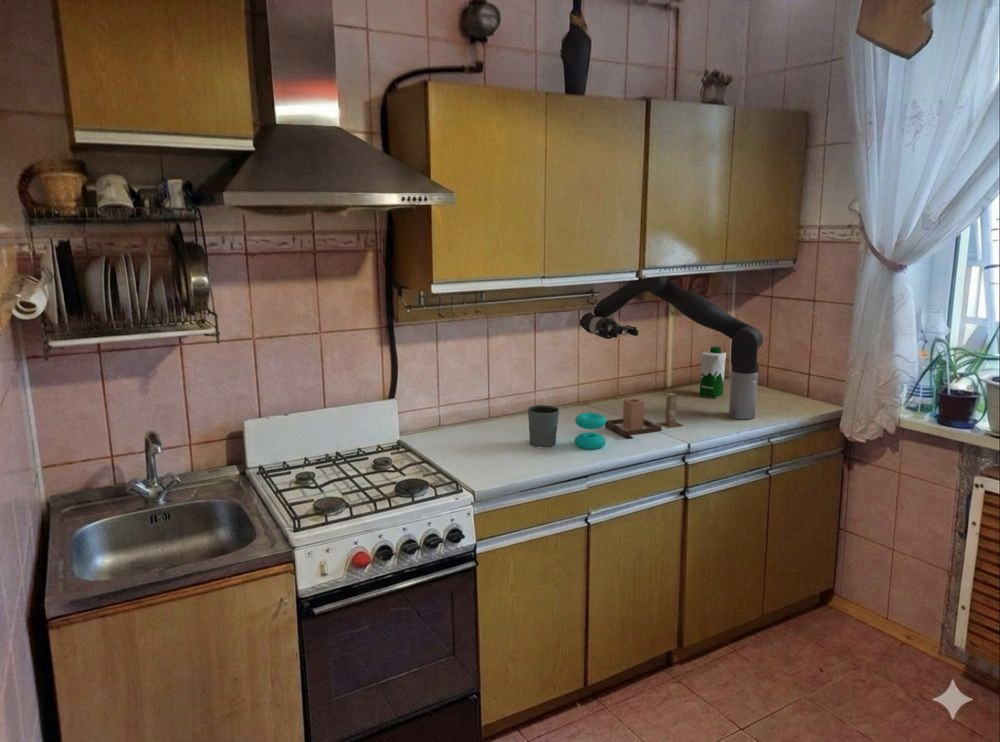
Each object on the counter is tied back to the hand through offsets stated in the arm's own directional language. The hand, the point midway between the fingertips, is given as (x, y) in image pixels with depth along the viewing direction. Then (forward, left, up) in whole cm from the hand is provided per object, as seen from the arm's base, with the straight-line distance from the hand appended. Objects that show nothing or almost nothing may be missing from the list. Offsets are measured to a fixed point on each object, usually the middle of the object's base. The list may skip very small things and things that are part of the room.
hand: (626, 334), depth 248 cm
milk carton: (-45, +29, -32) cm, 63 cm away
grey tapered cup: (+35, -21, -32) cm, 52 cm away
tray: (+12, +5, -32) cm, 34 cm away
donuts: (+32, -6, -32) cm, 45 cm away
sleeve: (+11, +5, -31) cm, 34 cm away
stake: (+4, +17, -32) cm, 36 cm away
